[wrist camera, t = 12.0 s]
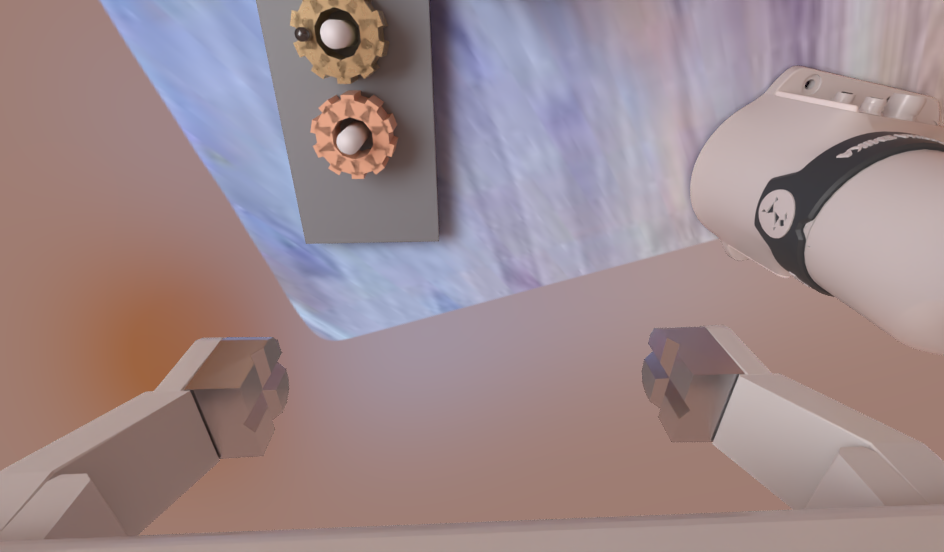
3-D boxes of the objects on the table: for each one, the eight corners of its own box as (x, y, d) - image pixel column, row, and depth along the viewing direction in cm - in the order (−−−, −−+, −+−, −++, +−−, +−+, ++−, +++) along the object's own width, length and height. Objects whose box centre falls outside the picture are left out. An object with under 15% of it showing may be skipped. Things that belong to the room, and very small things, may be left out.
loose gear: (394, 90, 37) (389, 94, 34) (400, 168, 40) (397, 178, 37) (314, 90, 36) (303, 95, 34) (327, 169, 40) (318, 179, 37)
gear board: (428, -25, 34) (423, -36, 29) (439, 233, 45) (437, 262, 40) (260, -26, 34) (222, -36, 28) (311, 235, 45) (291, 265, 39)
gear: (384, -17, 33) (376, -23, 29) (392, 79, 36) (385, 85, 32) (295, -17, 33) (275, -23, 29) (311, 80, 36) (295, 85, 32)
